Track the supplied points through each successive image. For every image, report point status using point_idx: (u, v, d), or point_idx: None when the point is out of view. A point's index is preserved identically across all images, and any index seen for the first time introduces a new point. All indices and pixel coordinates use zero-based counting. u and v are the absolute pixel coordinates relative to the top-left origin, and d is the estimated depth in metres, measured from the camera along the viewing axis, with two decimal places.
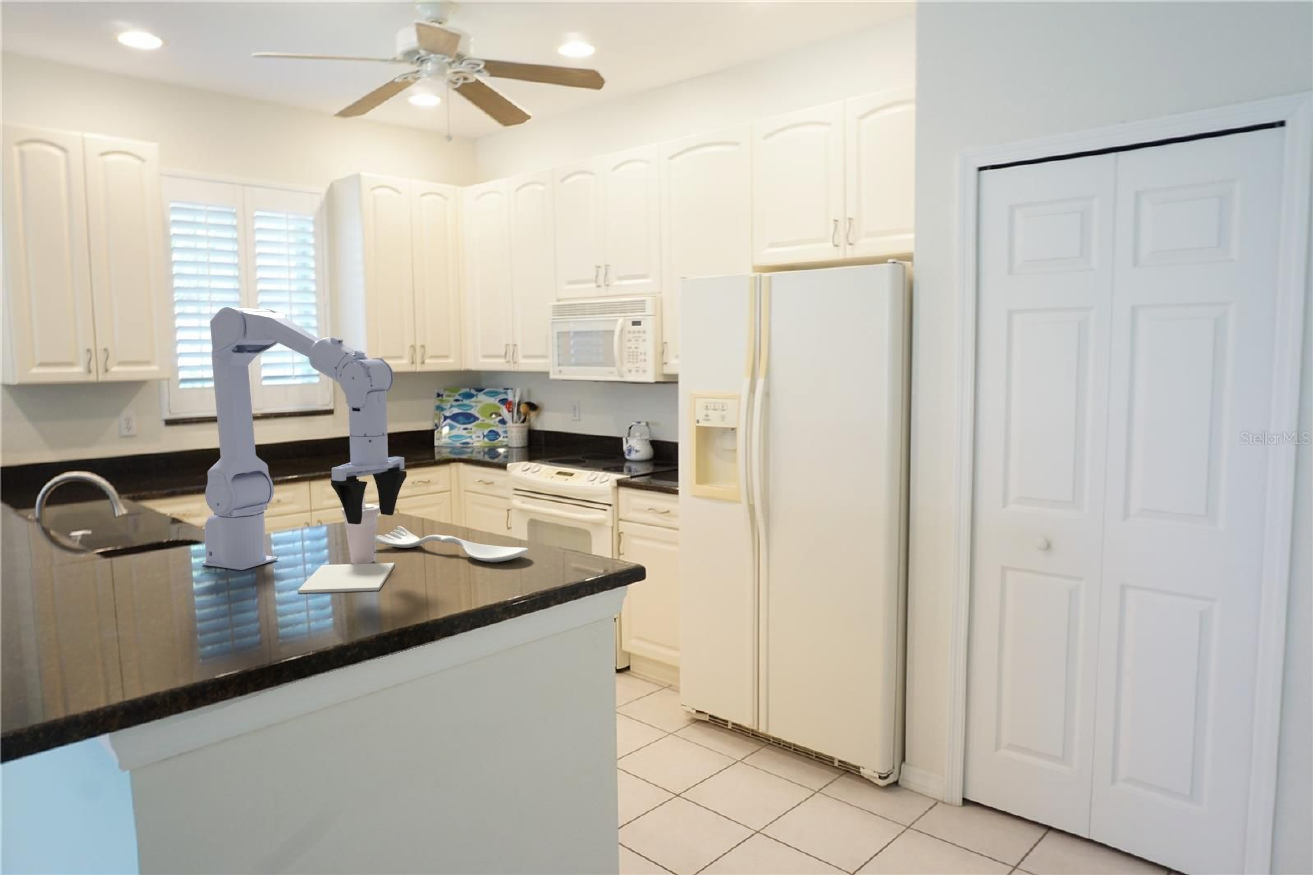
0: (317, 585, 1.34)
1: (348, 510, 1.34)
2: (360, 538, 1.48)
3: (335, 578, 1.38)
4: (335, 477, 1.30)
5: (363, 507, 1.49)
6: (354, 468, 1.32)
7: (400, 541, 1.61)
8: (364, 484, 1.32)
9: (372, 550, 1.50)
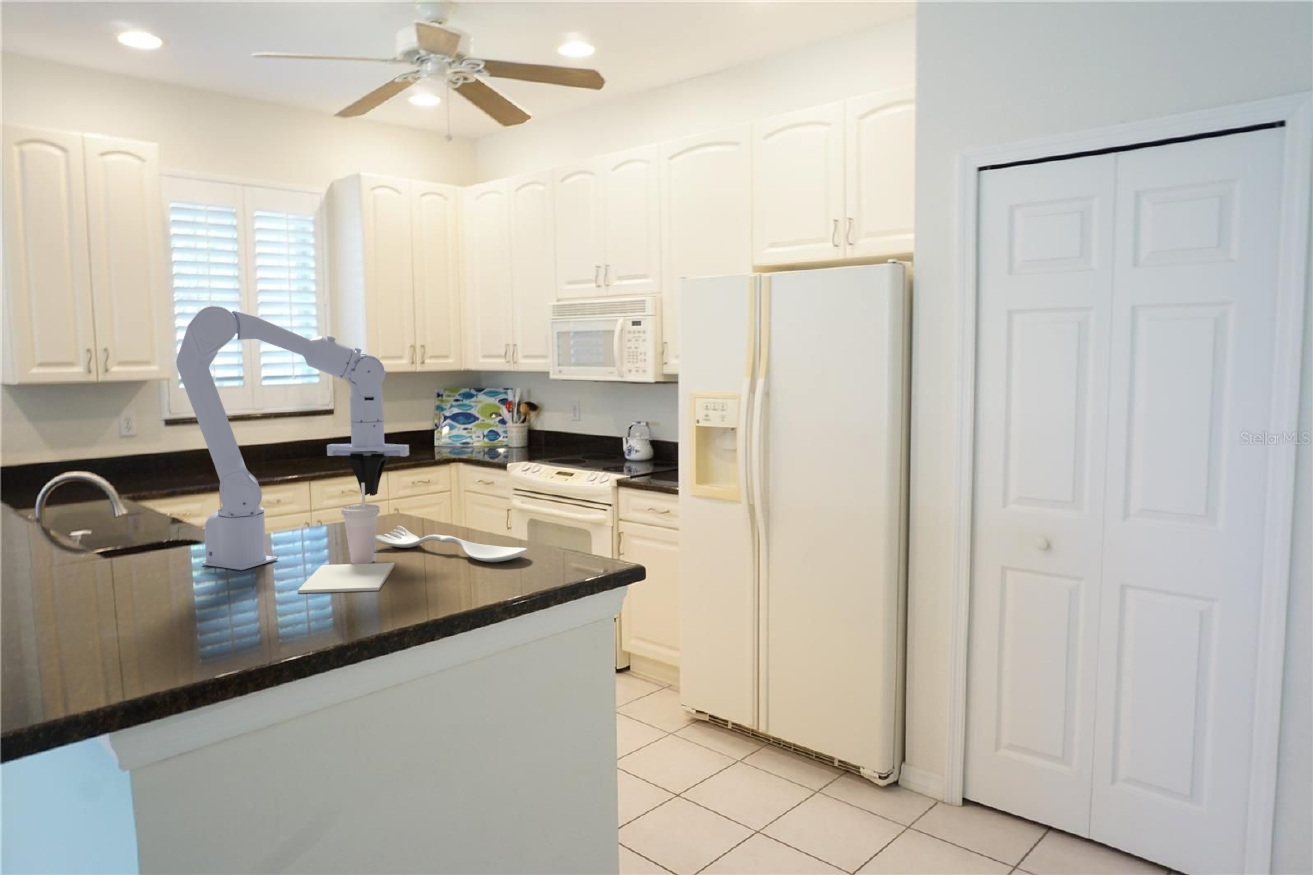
0: (317, 585, 1.34)
1: None
2: (360, 538, 1.48)
3: (335, 578, 1.38)
4: None
5: (363, 507, 1.49)
6: (337, 447, 1.56)
7: (400, 541, 1.61)
8: (356, 461, 1.55)
9: (372, 550, 1.50)
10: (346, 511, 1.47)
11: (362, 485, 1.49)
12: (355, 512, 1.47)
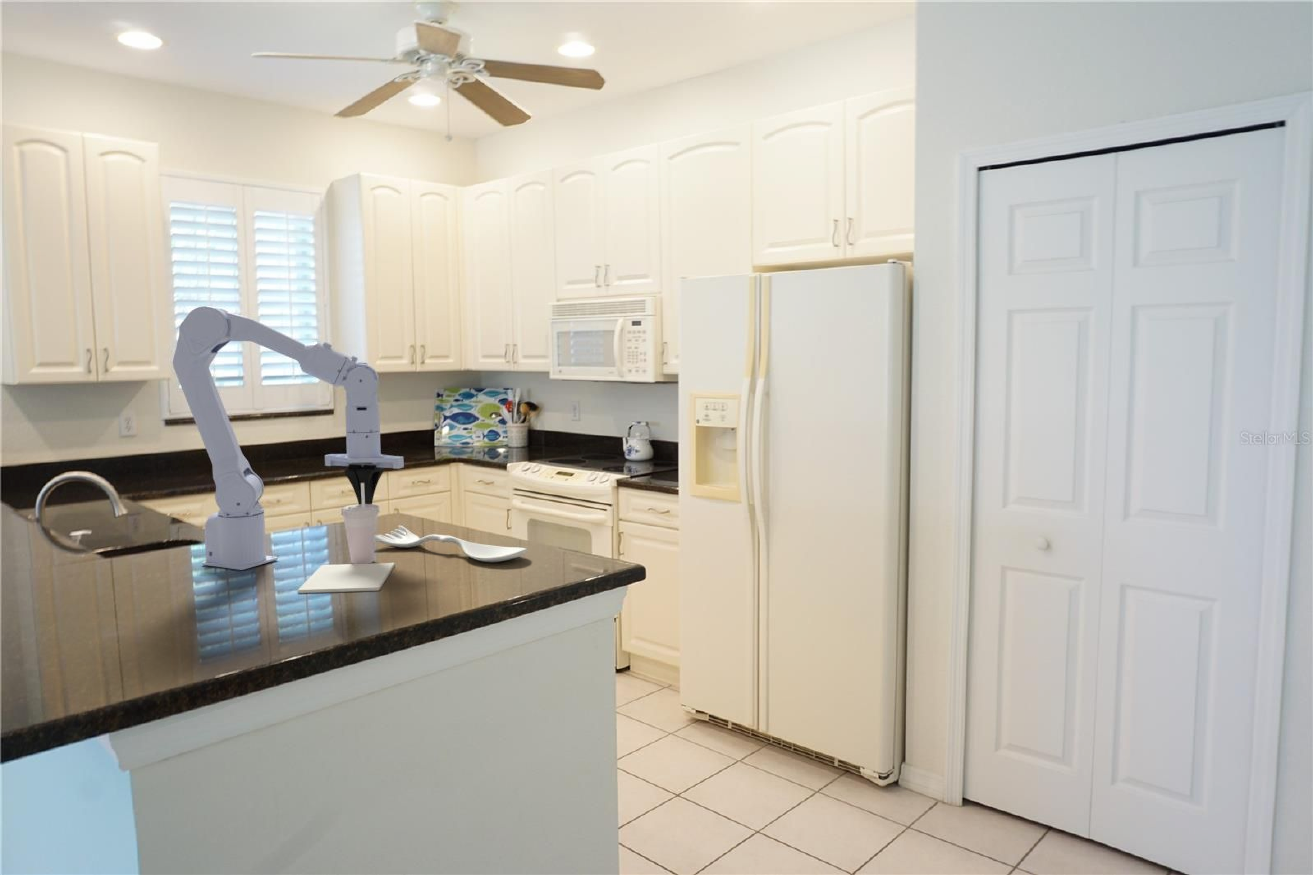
0: (317, 585, 1.34)
1: None
2: (360, 538, 1.48)
3: (335, 578, 1.38)
4: None
5: (363, 507, 1.49)
6: (334, 457, 1.53)
7: (400, 541, 1.61)
8: (352, 473, 1.51)
9: (372, 550, 1.50)
10: (346, 511, 1.47)
11: (362, 485, 1.49)
12: (355, 512, 1.46)
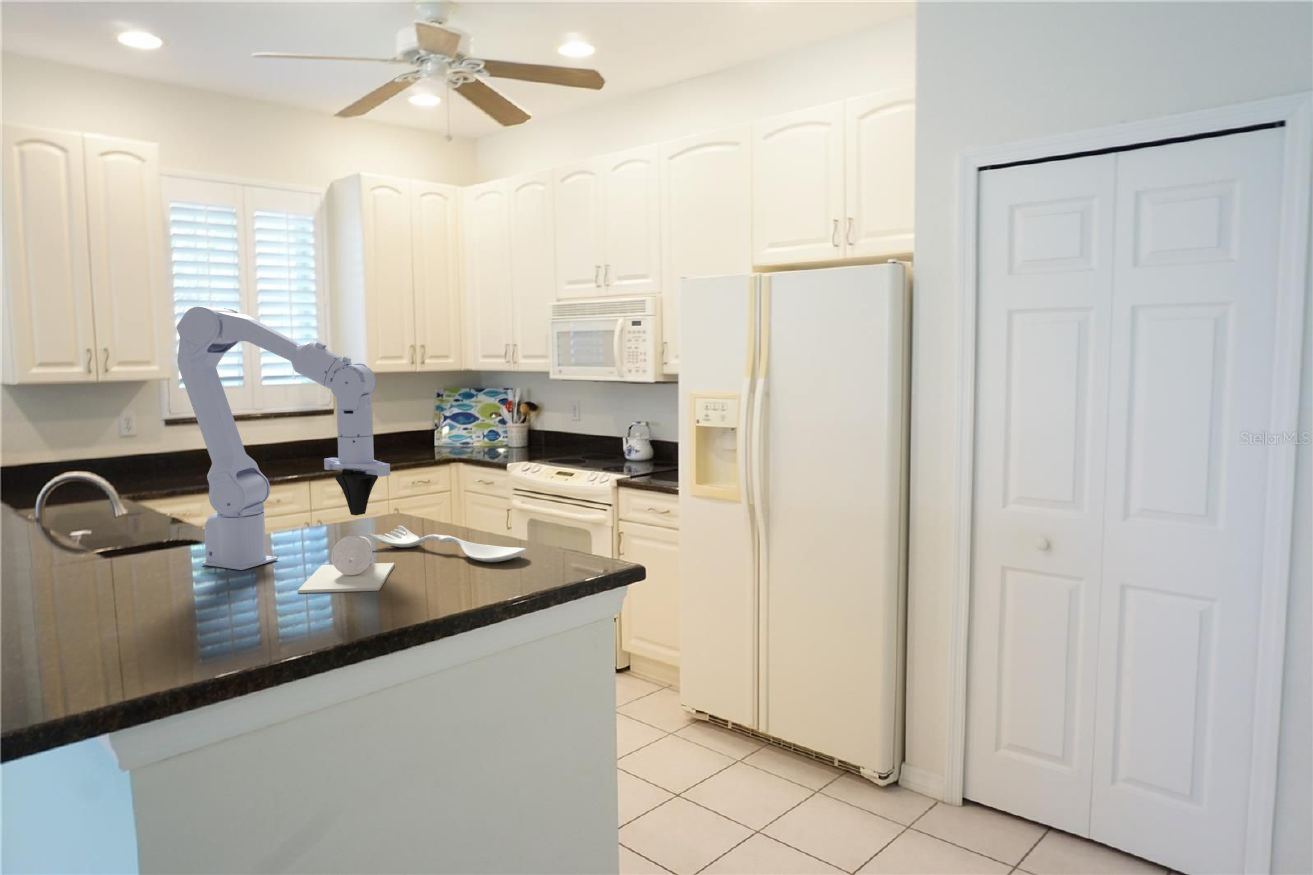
0: (317, 585, 1.34)
1: None
2: None
3: (335, 578, 1.38)
4: None
5: (355, 561, 1.39)
6: (330, 461, 1.48)
7: (400, 540, 1.61)
8: (340, 478, 1.45)
9: None
10: (338, 570, 1.39)
11: None
12: (348, 574, 1.39)
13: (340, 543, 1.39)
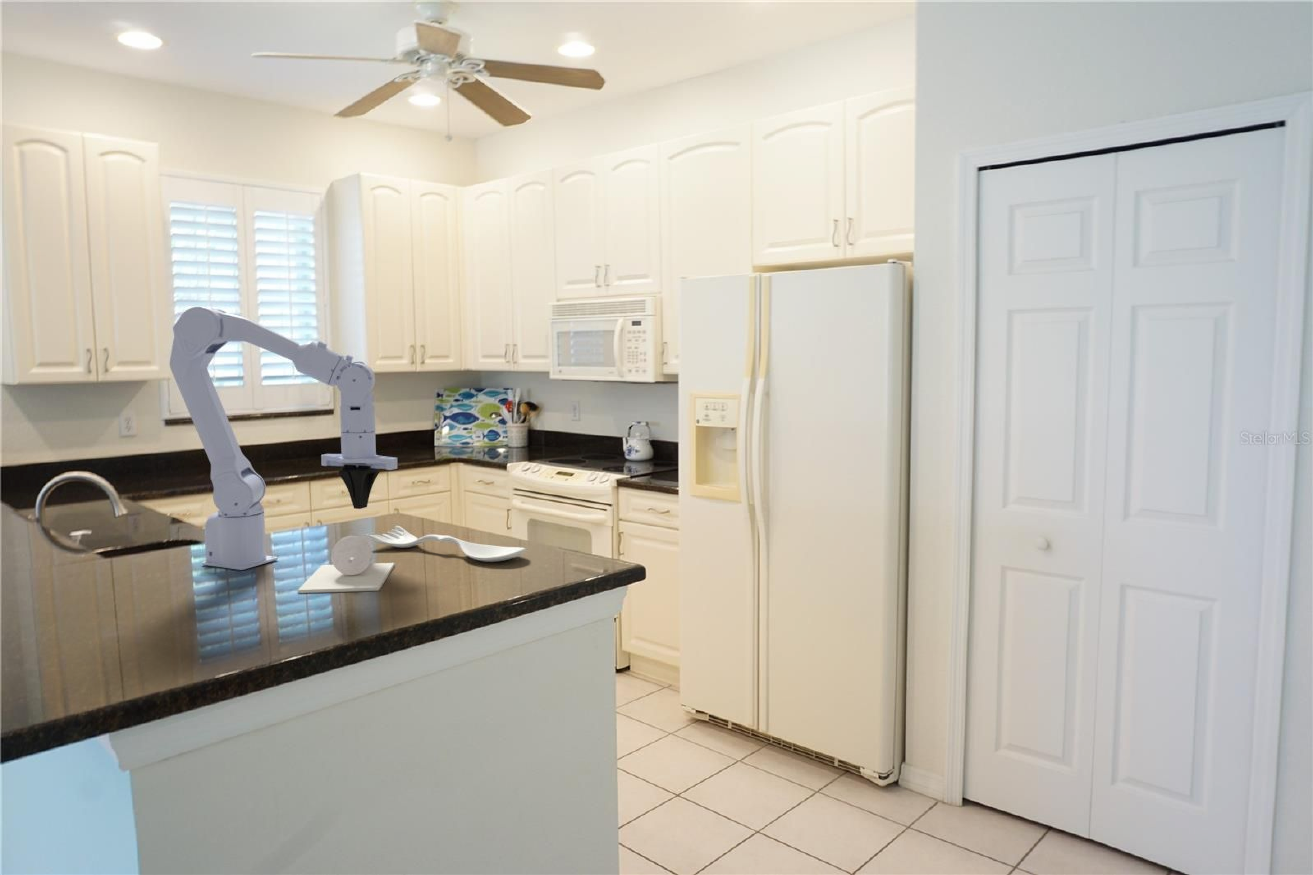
0: (317, 585, 1.34)
1: None
2: None
3: (335, 578, 1.38)
4: None
5: (355, 561, 1.39)
6: (329, 457, 1.51)
7: (398, 541, 1.61)
8: (345, 473, 1.49)
9: None
10: (338, 570, 1.39)
11: None
12: (348, 574, 1.39)
13: (340, 543, 1.39)
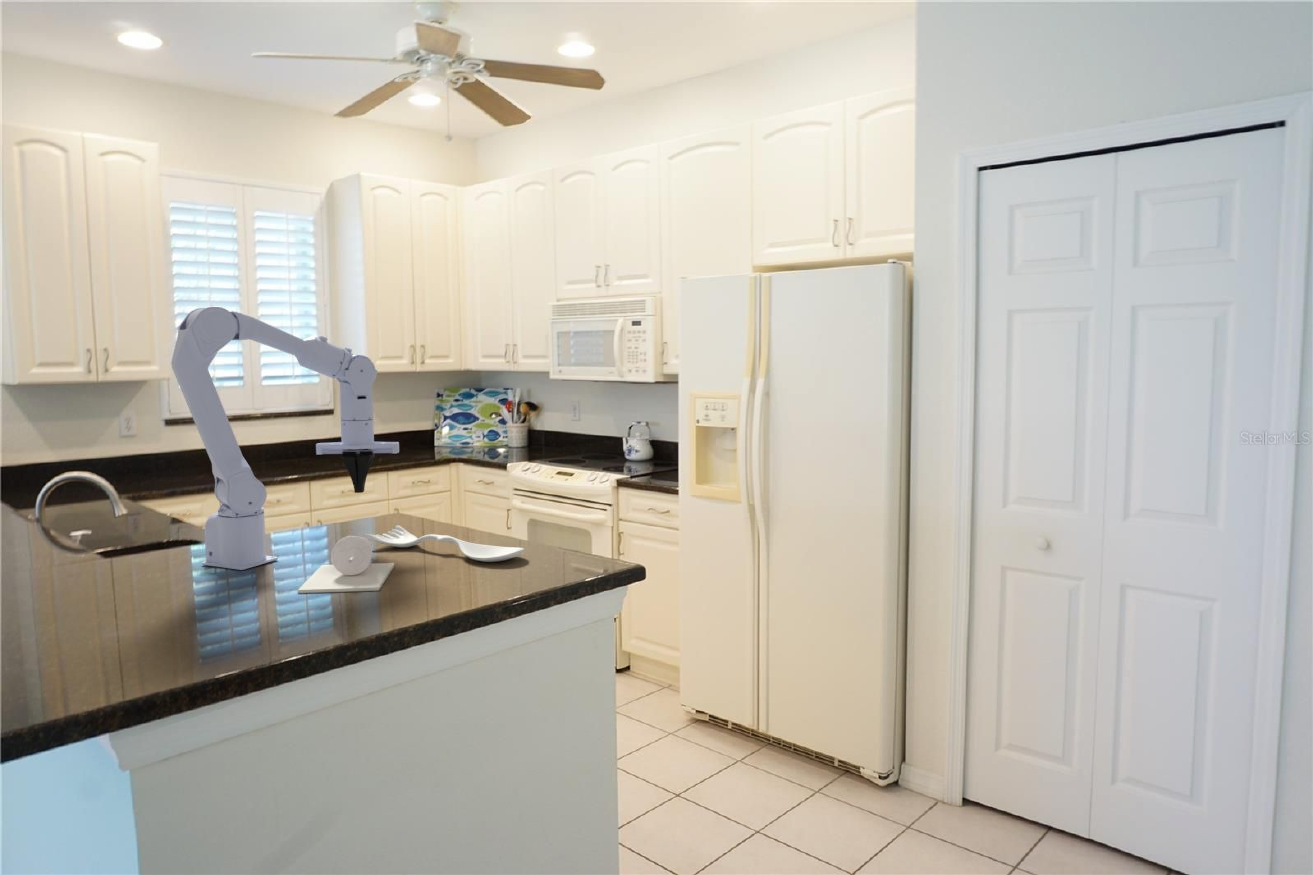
0: (317, 585, 1.34)
1: None
2: None
3: (335, 578, 1.38)
4: None
5: (354, 561, 1.39)
6: (328, 446, 1.58)
7: (398, 540, 1.61)
8: (351, 459, 1.57)
9: None
10: (338, 570, 1.39)
11: None
12: (348, 574, 1.39)
13: (339, 543, 1.39)
